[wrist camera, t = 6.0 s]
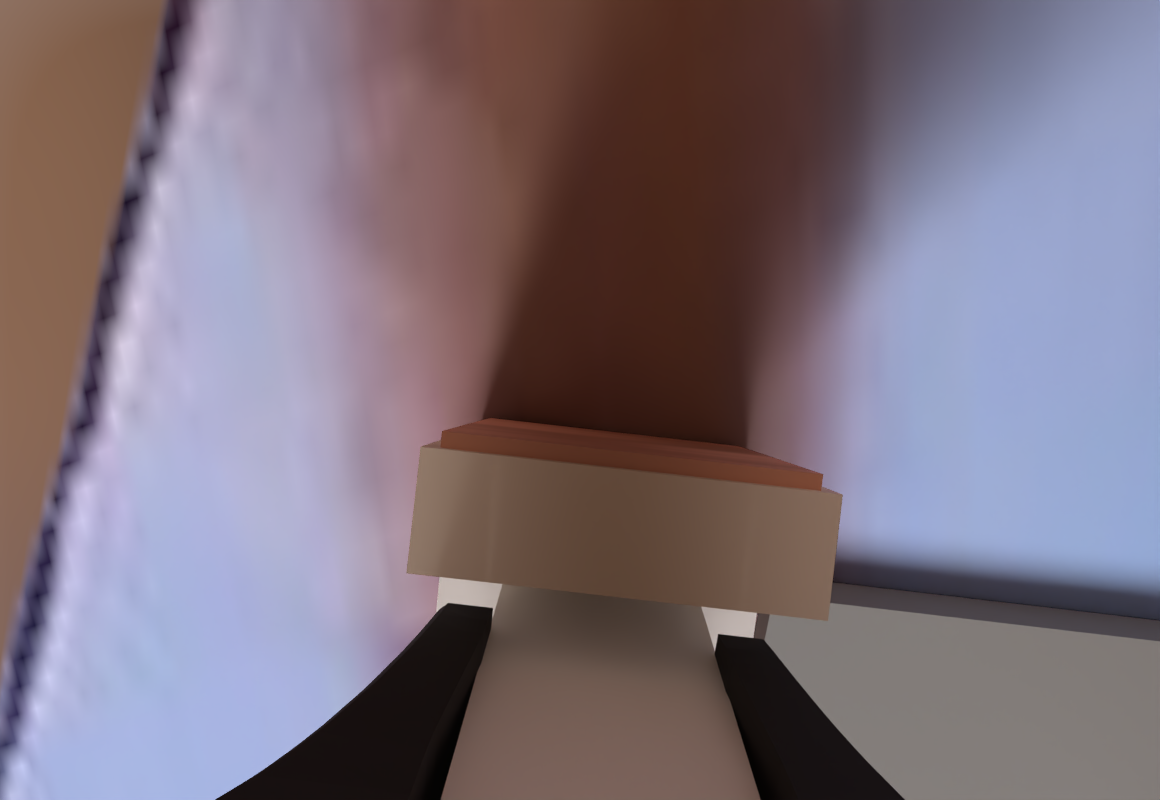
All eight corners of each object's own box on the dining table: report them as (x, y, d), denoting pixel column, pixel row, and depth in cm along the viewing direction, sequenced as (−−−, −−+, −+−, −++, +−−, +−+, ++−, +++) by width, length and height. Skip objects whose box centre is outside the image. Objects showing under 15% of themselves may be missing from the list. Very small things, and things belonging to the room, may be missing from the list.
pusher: (750, 547, 15) (954, 922, 7) (722, 736, 16) (877, 1312, 7) (455, 513, 15) (271, 845, 7) (437, 703, 16) (245, 1240, 7)
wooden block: (747, 446, 16) (845, 478, 10) (737, 537, 16) (828, 621, 10) (480, 416, 16) (421, 429, 10) (470, 506, 16) (406, 572, 10)
